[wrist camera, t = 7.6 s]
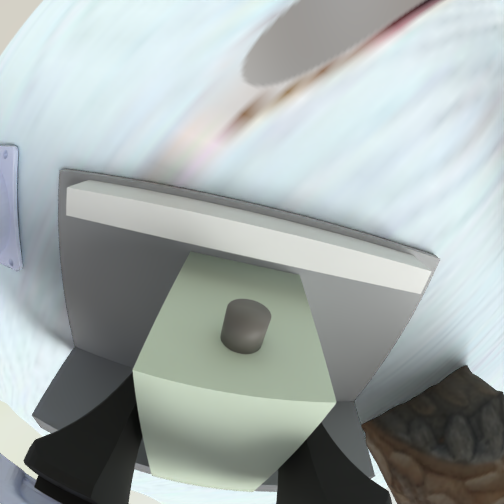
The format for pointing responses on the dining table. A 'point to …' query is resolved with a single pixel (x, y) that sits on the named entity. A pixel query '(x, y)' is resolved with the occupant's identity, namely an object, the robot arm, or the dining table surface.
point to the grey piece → (231, 248)
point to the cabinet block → (230, 375)
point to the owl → (443, 444)
